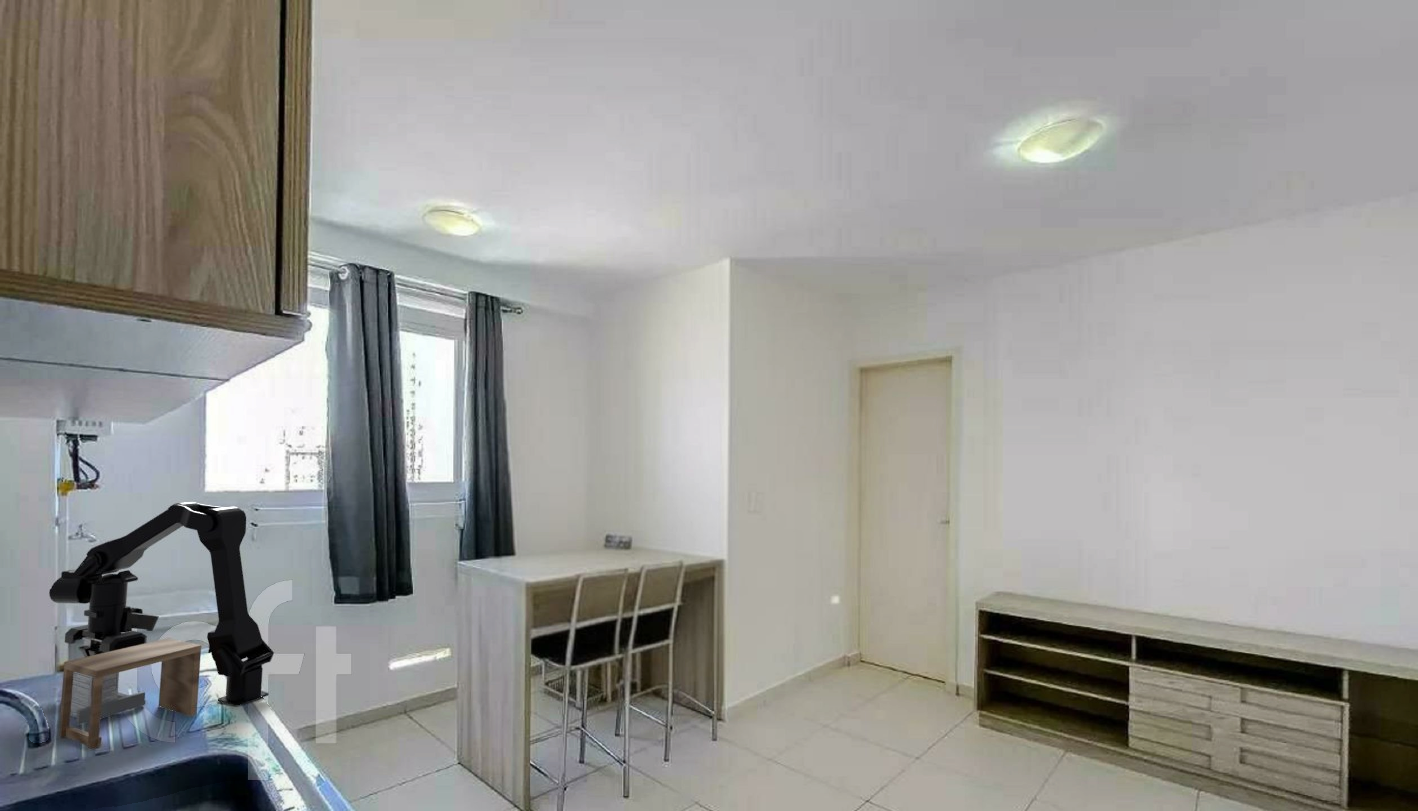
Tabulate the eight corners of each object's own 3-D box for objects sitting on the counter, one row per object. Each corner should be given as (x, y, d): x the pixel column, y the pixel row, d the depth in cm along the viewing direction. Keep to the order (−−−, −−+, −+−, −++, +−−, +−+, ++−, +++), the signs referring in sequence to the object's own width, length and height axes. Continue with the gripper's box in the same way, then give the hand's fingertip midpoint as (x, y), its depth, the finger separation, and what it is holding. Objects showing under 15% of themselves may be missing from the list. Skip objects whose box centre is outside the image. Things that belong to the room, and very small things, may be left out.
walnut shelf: (196, 714, 123) (201, 645, 124) (90, 749, 109) (96, 671, 109) (164, 704, 128) (169, 638, 128) (58, 737, 113) (64, 661, 114)
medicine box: (117, 714, 123) (120, 668, 123) (87, 723, 119) (91, 676, 119) (96, 707, 126) (99, 662, 127) (66, 715, 122) (70, 669, 123)
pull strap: (150, 703, 127) (152, 673, 127) (78, 725, 117) (81, 692, 117) (90, 685, 136) (92, 657, 137) (19, 704, 126) (21, 673, 126)
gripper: (178, 600, 137) (173, 673, 136) (130, 592, 145) (125, 661, 144) (113, 612, 127) (107, 691, 126) (66, 602, 135) (60, 677, 134)
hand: (102, 679), depth 133 cm, fingers closed
